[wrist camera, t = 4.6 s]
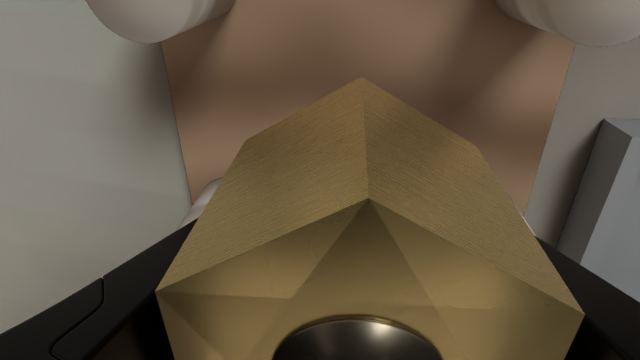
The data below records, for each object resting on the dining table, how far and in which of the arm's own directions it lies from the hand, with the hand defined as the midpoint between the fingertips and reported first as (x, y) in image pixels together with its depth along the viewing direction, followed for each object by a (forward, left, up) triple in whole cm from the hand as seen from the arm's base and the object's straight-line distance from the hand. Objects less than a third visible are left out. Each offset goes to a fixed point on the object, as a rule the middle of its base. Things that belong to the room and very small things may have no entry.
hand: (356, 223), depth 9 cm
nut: (0, 0, -1) cm, 1 cm away
